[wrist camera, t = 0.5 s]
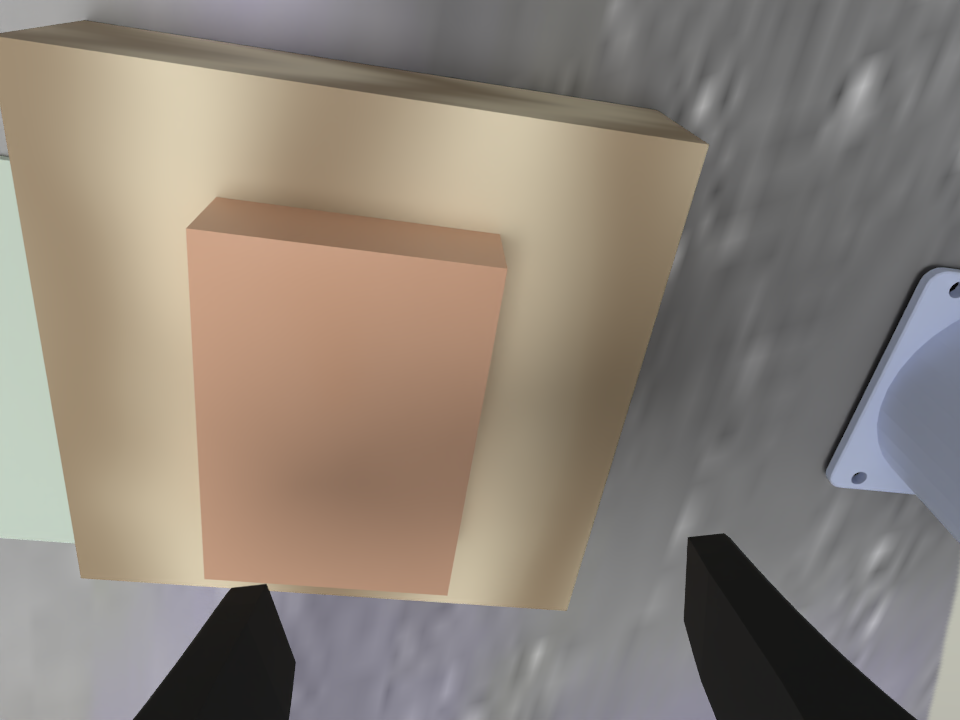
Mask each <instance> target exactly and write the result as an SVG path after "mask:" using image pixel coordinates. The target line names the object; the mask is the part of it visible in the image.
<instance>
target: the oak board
mask: <svg viewBox="0 0 960 720" xmlns="http://www.w3.org/2000/svg"><path fill="white" fill-rule="evenodd" d="M0 107H1V113H2V118H3V124H4V130H5V136H6V142H7V148H8V154H9V159H10V165H11V171H12V177H13V183H14V189H15V195H16V200H17V206H18V212H19V218H20V224H21V230H22V235H23V241H24V247H25V253H26V259H27V265H28V271H29V276H30V282H31V288H32V294H33V300H34V306H35V312H36V317H37V323H38V329H39V335H40V341H41V347H42V352H43V358H44V364H45V370H46V376H47V382H48V388H49V393H50V399H51V405H52V411H53V417H54V423H55V429H56V434H57V440H58V446H59V452H60V458H61V464H62V469H63V475H64V481H65V487H66V493H67V499H68V505H69V510H70V516H71V522H72V528H73V534H74V540H75V546H76V551H77V557H78V563H79V569H80V575H81V578H87V579H101V580H116V581H131V582H146V583H161V584H176V585H191V586H206V587H220V588H233V587H242V586H251V585H260V584H267V586H268V589H269V591H280V592H295V593H310V594H324V595H339V596H354V597H369V598H384V599H399V600H414V601H429V602H443V603H458V604H473V605H488V606H503V607H518V608H533V609H547V610H562V611H567V608H568V605H569V602H570V598H571V595H572V592H573V588H574V585H575V582H576V579H577V575H578V572H579V569H580V565H581V562H582V559H583V556H584V552H585V549H586V546H587V543H588V539H589V536H590V533H591V529H592V526H593V523H594V520H595V516H596V513H597V510H598V507H599V503H600V500H601V497H602V493H603V490H604V487H605V484H606V480H607V477H608V474H609V471H610V467H611V464H612V461H613V457H614V454H615V451H616V448H617V444H618V441H619V438H620V435H621V431H622V428H623V425H624V421H625V418H626V415H627V412H628V408H629V405H630V402H631V399H632V395H633V392H634V389H635V385H636V382H637V379H638V376H639V372H640V369H641V366H642V363H643V359H644V356H645V353H646V349H647V346H648V343H649V340H650V336H651V333H652V330H653V327H654V323H655V320H656V317H657V313H658V310H659V307H660V304H661V300H662V297H663V294H664V291H665V287H666V284H667V281H668V277H669V274H670V271H671V268H672V264H673V261H674V258H675V254H676V251H677V248H678V245H679V241H680V238H681V235H682V232H683V228H684V225H685V222H686V218H687V215H688V212H689V209H690V205H691V202H692V199H693V196H694V192H695V189H696V186H697V182H698V179H699V176H700V173H701V169H702V166H703V163H704V160H705V156H706V153H707V150H708V146H709V144H707V143H706V142H704V141H703V140H701V139H700V138H698V137H697V136H695V135H694V134H692V133H691V132H689V131H688V130H686V129H685V128H683V127H682V126H680V125H679V124H677V123H676V122H674V121H672V120H671V119H669V118H668V117H666V116H665V115H663V114H662V113H660V112H659V111H657V110H653V109H646V108H640V107H634V106H627V105H621V104H614V103H608V102H602V101H595V100H589V99H583V98H576V97H570V96H563V95H557V94H551V93H544V92H538V91H532V90H525V89H519V88H513V87H506V86H500V85H493V84H487V83H481V82H474V81H468V80H462V79H455V78H449V77H442V76H436V75H430V74H423V73H417V72H411V71H404V70H398V69H391V68H385V67H379V66H372V65H366V64H360V63H353V62H347V61H340V60H334V59H328V58H321V57H315V56H309V55H302V54H296V53H290V52H283V51H277V50H270V49H264V48H258V47H251V46H245V45H239V44H232V43H226V42H219V41H213V40H207V39H200V38H194V37H188V36H181V35H175V34H168V33H162V32H156V31H149V30H143V29H137V28H130V27H124V26H117V25H111V24H105V23H98V22H92V21H86V20H83V21H77V22H70V23H63V24H57V25H50V26H44V27H37V28H31V29H24V30H18V31H11V32H5V33H0ZM216 197H220V198H228V199H236V200H243V201H251V202H258V203H266V204H274V205H281V206H289V207H296V208H304V209H312V210H319V211H327V212H335V213H342V214H350V215H357V216H365V217H373V218H380V219H388V220H395V221H403V222H411V223H418V224H426V225H434V226H441V227H449V228H456V229H464V230H472V231H479V232H487V233H494V234H500V237H501V242H502V246H503V250H504V255H505V259H506V264H507V268H508V270H507V275H506V280H505V286H504V291H503V297H502V302H501V307H500V313H499V318H498V324H497V329H496V335H495V340H494V345H493V351H492V356H491V362H490V367H489V373H488V378H487V383H486V389H485V394H484V400H483V405H482V411H481V416H480V421H479V427H478V432H477V438H476V443H475V449H474V454H473V459H472V465H471V470H470V476H469V481H468V487H467V492H466V497H465V503H464V508H463V514H462V519H461V525H460V530H459V535H458V541H457V546H456V552H455V557H454V562H453V568H452V573H451V579H450V584H449V590H448V595H447V596H444V595H430V594H415V593H400V592H386V591H371V590H357V589H342V588H327V587H313V586H298V585H284V584H269V583H254V582H240V581H225V580H211V579H204V563H203V544H202V525H201V506H200V487H199V468H198V449H197V430H196V411H195V392H194V373H193V354H192V335H191V316H190V297H189V278H188V259H187V240H186V228H187V227H188V226H189V225H190V224H191V223H192V222H193V221H194V219H195V218H196V217H197V216H198V215H199V214H200V213H201V212H202V211H203V210H204V209H205V208H206V207H207V206H208V205H209V204H210V203H211V202H212V201H213V200H214V199H215V198H216Z"/></svg>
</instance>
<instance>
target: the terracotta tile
mask: <svg viewBox="0 0 960 720" xmlns="http://www.w3.org/2000/svg"><path fill="white" fill-rule="evenodd" d="M186 240H187V259H188V278H189V297H190V316H191V335H192V354H193V373H194V392H195V411H196V430H197V449H198V468H199V487H200V506H201V525H202V544H203V563H204V579H211V580H225V581H240V582H254V583H269V584H284V585H298V586H313V587H327V588H342V589H357V590H371V591H386V592H400V593H415V594H430V595H444V596H447V595H448V590H449V584H450V579H451V573H452V568H453V562H454V557H455V552H456V546H457V541H458V535H459V530H460V525H461V519H462V514H463V508H464V503H465V497H466V492H467V487H468V481H469V476H470V470H471V465H472V459H473V454H474V449H475V443H476V438H477V432H478V427H479V421H480V416H481V411H482V405H483V400H484V394H485V389H486V383H487V378H488V373H489V367H490V362H491V356H492V351H493V345H494V340H495V335H496V329H497V324H498V318H499V313H500V307H501V302H502V297H503V291H504V286H505V280H506V275H507V270H508V268H507V264H506V259H505V255H504V250H503V246H502V242H501V237H500V234H494V233H487V232H479V231H472V230H464V229H456V228H449V227H441V226H434V225H426V224H418V223H411V222H403V221H395V220H388V219H380V218H373V217H365V216H357V215H350V214H342V213H335V212H327V211H319V210H312V209H304V208H296V207H289V206H281V205H274V204H266V203H258V202H251V201H243V200H236V199H228V198H220V197H216V198H215V199H214V200H213V201H212V202H211V203H210V204H209V205H208V206H207V207H206V208H205V209H204V210H203V211H202V212H201V213H200V214H199V215H198V216H197V217H196V218H195V219H194V221H193V222H192V223H191V224H190V225H189V226H188V227H187V228H186Z"/></svg>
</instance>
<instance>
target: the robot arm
mask: <svg viewBox="0 0 960 720" xmlns="http://www.w3.org/2000/svg"><path fill="white" fill-rule="evenodd" d="M957 282H959V283H958V286H957V287H956V288H955V290H953V291H951V292H949V290H950V288H951V287H952V286H953V285H954V284H955V283H957ZM858 472H859V474H858V475H856V476H853V475H854V474H856V473H858ZM826 477H827V479H828V480H829V481H830V482H831V484H832V485H834V486H836V487H840V488H851V489H862V490H872V491H883V492H894V493H905V494H915V495H916V496H917V497H918V498H919V499H920V500H921V501H922V502H923V503H924V504H925V506H926V507H927V508H928V509H929V510H930V511H931V512H932V513H933V514H934V516H935V517H936V518H937V519H938V520H939V521H940V522H941V523H942V524H943V526H944V527H945V528H946V529H947V530H948V531H949V532H950V533H951V534H952V536H953V537H954V538H955V539H956V540H957V541H958V542H959V543H960V270H959V269H951V268H944V267H941V268H935V269H932V270H930V271H929V272H927V273H926V274H925V275H924V276H923V277H922V279H921V280H920V281H919V284H918V286H917V288H916V290H915V292H914V294H913V296H912V298H911V300H910V302H909V304H908V306H907V308H906V310H905V312H904V314H903V316H902V318H901V320H900V322H899V324H898V326H897V328H896V330H895V332H894V334H893V336H892V338H891V340H890V342H889V344H888V346H887V348H886V350H885V352H884V354H883V356H882V358H881V360H880V362H879V364H878V366H877V369H876V371H875V373H874V375H873V377H872V379H871V381H870V383H869V385H868V387H867V389H866V391H865V393H864V395H863V397H862V399H861V401H860V403H859V405H858V407H857V409H856V411H855V413H854V415H853V417H852V419H851V421H850V423H849V425H848V427H847V429H846V431H845V433H844V435H843V437H842V439H841V441H840V443H839V445H838V447H837V449H836V451H835V453H834V456H833V458H832V460H831V462H830V464H829V466H828V468H827V470H826ZM684 623H685V626H686V630H687V634H688V637H689V641H690V644H691V648H692V652H693V655H694V658H695V662H696V665H697V669H698V672H699V675H700V679H701V682H702V684H703V687H704V689H705V692H706V694H707V697H708V699H709V702H710V704H711V707H712V709H713V712H714V714H715V717H716V719H717V720H917V719H916V718H914V717H913V716H912V715H911V714H909V713H908V712H907V711H906V710H905V709H903V708H902V707H901V706H900V705H899V704H897V703H896V702H895V701H894V700H893V699H891V698H890V697H889V696H888V695H887V694H886V693H885V692H883V691H882V690H881V689H880V688H879V687H878V686H876V685H875V684H874V683H873V682H872V681H871V680H870V679H869V678H867V677H866V676H865V675H864V674H863V673H862V672H861V671H860V670H859V669H857V668H856V667H855V666H854V665H853V664H852V663H851V662H850V661H849V660H847V659H846V658H845V657H844V656H843V655H842V654H841V653H840V652H839V651H838V650H837V649H836V648H835V647H834V646H833V645H832V644H830V643H829V642H828V641H827V640H826V639H825V638H824V637H823V636H822V635H821V634H820V633H819V632H818V631H817V630H816V629H815V628H814V627H813V626H812V625H811V624H810V623H809V622H808V621H807V620H806V619H805V618H804V617H803V616H802V615H801V614H800V613H799V612H798V611H797V610H796V609H795V608H794V607H793V606H792V605H791V604H790V603H789V602H788V601H787V600H786V599H785V598H784V597H783V596H782V595H781V593H780V592H779V591H778V590H777V589H776V588H775V587H774V586H773V585H772V584H771V583H770V582H769V581H768V580H767V579H766V578H765V576H764V575H763V574H762V573H761V572H760V571H759V570H758V569H757V568H756V567H755V566H754V564H753V563H752V562H751V561H750V560H749V559H748V558H747V557H746V555H745V554H744V553H743V552H742V551H741V550H740V549H739V548H738V546H737V545H736V544H735V543H734V542H733V541H732V540H731V538H729V537H728V536H727V535H726V534H724V533H723V534H714V535H705V536H696V537H688V546H687V566H686V587H685V607H684ZM295 663H296V662H295V659H294V657H293V654H292V651H291V648H290V646H289V643H288V640H287V638H286V635H285V632H284V629H283V627H282V624H281V621H280V619H279V616H278V613H277V610H276V608H275V605H274V602H273V600H272V597H271V594H270V591H269V589H268V586H267V584H260V585H251V586H242V587H233V588H231V589H230V590H229V592H228V593H227V594H226V595H225V597H224V598H223V599H222V601H221V602H220V604H219V605H218V606H217V608H216V609H215V610H214V612H213V613H212V615H211V616H210V617H209V619H208V620H207V622H206V623H205V624H204V626H203V627H202V629H201V630H200V631H199V633H198V634H197V635H196V637H195V638H194V640H193V641H192V642H191V644H190V645H189V647H188V648H187V649H186V651H185V652H184V653H183V655H182V656H181V657H180V659H179V660H178V662H177V663H176V664H175V666H174V667H173V668H172V670H171V671H170V672H169V674H168V675H167V676H166V677H165V679H164V680H163V681H162V683H161V684H160V685H159V687H158V688H157V689H156V691H155V692H154V693H153V695H152V696H151V697H150V699H149V700H148V701H147V703H146V704H145V705H144V706H143V708H142V709H141V710H140V711H139V713H138V714H137V715H136V716H135V718H134V719H133V720H289V714H290V707H291V699H292V691H293V682H294V672H295Z"/></svg>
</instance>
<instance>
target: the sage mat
mask: <svg viewBox="0 0 960 720" xmlns="http://www.w3.org/2000/svg"><path fill="white" fill-rule="evenodd" d="M0 538H8V539H22V540H36V541H49V542H63V543H75V540H74V534H73V528H72V522H71V516H70V510H69V505H68V499H67V493H66V487H65V481H64V475H63V469H62V464H61V458H60V452H59V446H58V440H57V434H56V429H55V423H54V417H53V411H52V405H51V399H50V393H49V388H48V382H47V376H46V370H45V364H44V358H43V352H42V347H41V341H40V335H39V329H38V323H37V317H36V312H35V306H34V300H33V294H32V288H31V282H30V276H29V271H28V265H27V259H26V253H25V247H24V241H23V235H22V230H21V224H20V218H19V212H18V206H17V200H16V195H15V189H14V183H13V177H12V171H11V165H10V159H9V157H6V156H0Z"/></svg>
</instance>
